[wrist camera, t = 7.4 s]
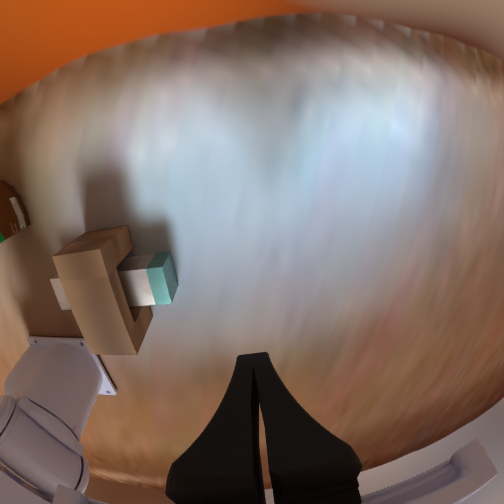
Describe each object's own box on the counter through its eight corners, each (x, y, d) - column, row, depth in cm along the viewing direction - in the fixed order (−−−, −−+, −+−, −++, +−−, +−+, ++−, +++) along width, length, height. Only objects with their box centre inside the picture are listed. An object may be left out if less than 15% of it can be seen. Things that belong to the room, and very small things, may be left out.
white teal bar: (76, 293, 21) (61, 309, 19) (66, 265, 20) (49, 279, 18) (178, 284, 22) (171, 303, 19) (170, 251, 21) (162, 267, 18)
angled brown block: (112, 318, 22) (91, 354, 18) (85, 232, 19) (52, 256, 15) (152, 316, 22) (137, 354, 18) (128, 225, 20) (100, 249, 15)
